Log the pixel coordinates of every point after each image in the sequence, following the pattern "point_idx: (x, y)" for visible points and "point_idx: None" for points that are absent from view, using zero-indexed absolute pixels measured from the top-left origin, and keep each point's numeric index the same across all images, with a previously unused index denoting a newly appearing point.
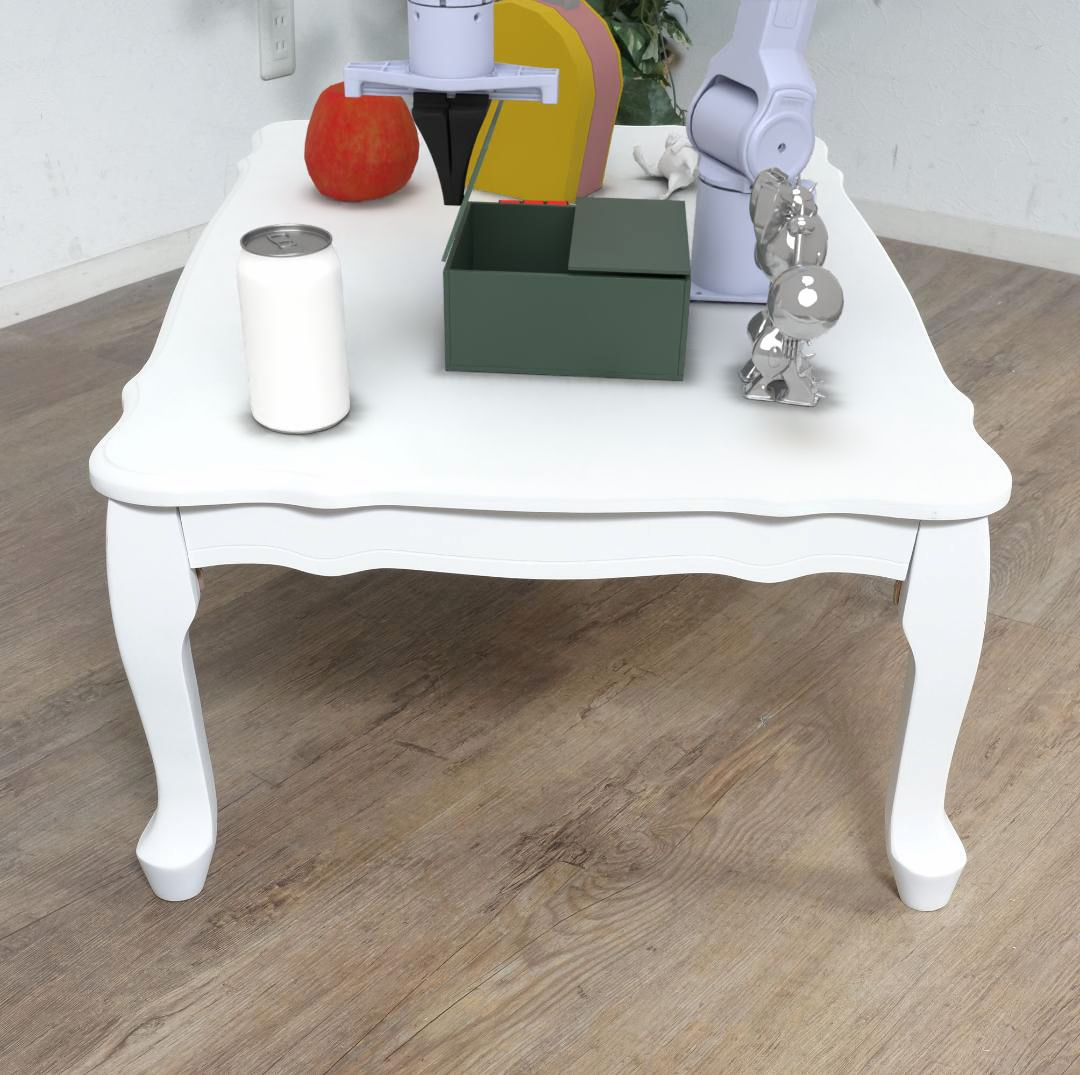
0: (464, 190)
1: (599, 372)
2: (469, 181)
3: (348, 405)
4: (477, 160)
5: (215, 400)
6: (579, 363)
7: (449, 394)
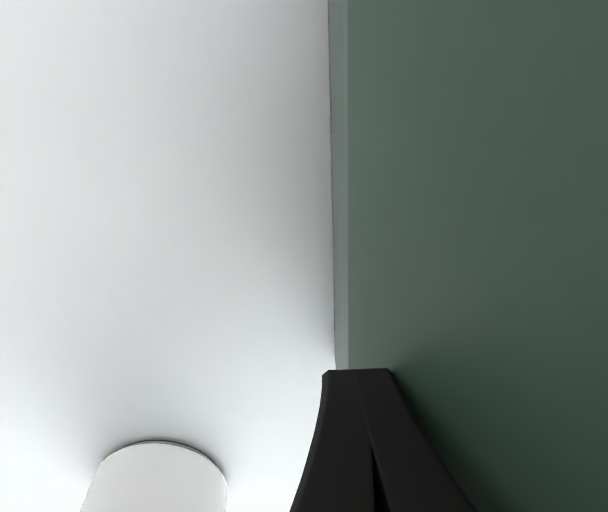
0: (398, 386)
1: None
2: (384, 9)
3: (226, 495)
4: (493, 396)
5: (31, 464)
6: None
7: None
